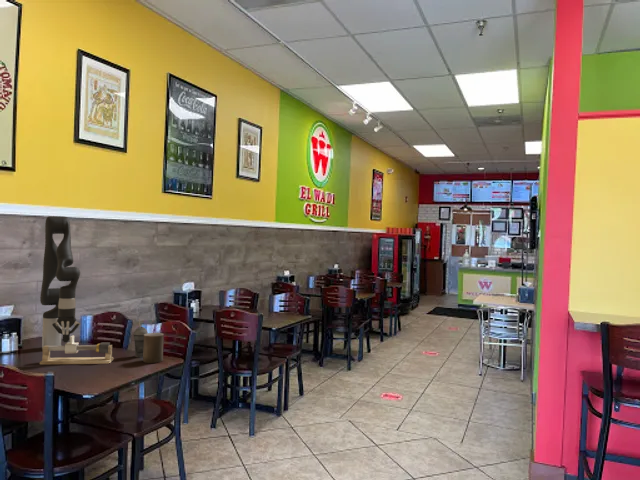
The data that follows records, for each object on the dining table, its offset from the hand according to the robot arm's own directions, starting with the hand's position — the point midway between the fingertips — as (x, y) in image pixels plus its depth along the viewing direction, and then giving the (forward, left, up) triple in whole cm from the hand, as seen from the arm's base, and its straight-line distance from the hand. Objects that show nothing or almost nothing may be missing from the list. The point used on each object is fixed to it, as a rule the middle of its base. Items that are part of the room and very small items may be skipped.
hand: (65, 341), depth 242 cm
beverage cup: (-10, +34, -10) cm, 37 cm away
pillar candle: (0, +42, -10) cm, 43 cm away
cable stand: (0, +6, -10) cm, 12 cm away
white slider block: (0, +3, -5) cm, 6 cm away
